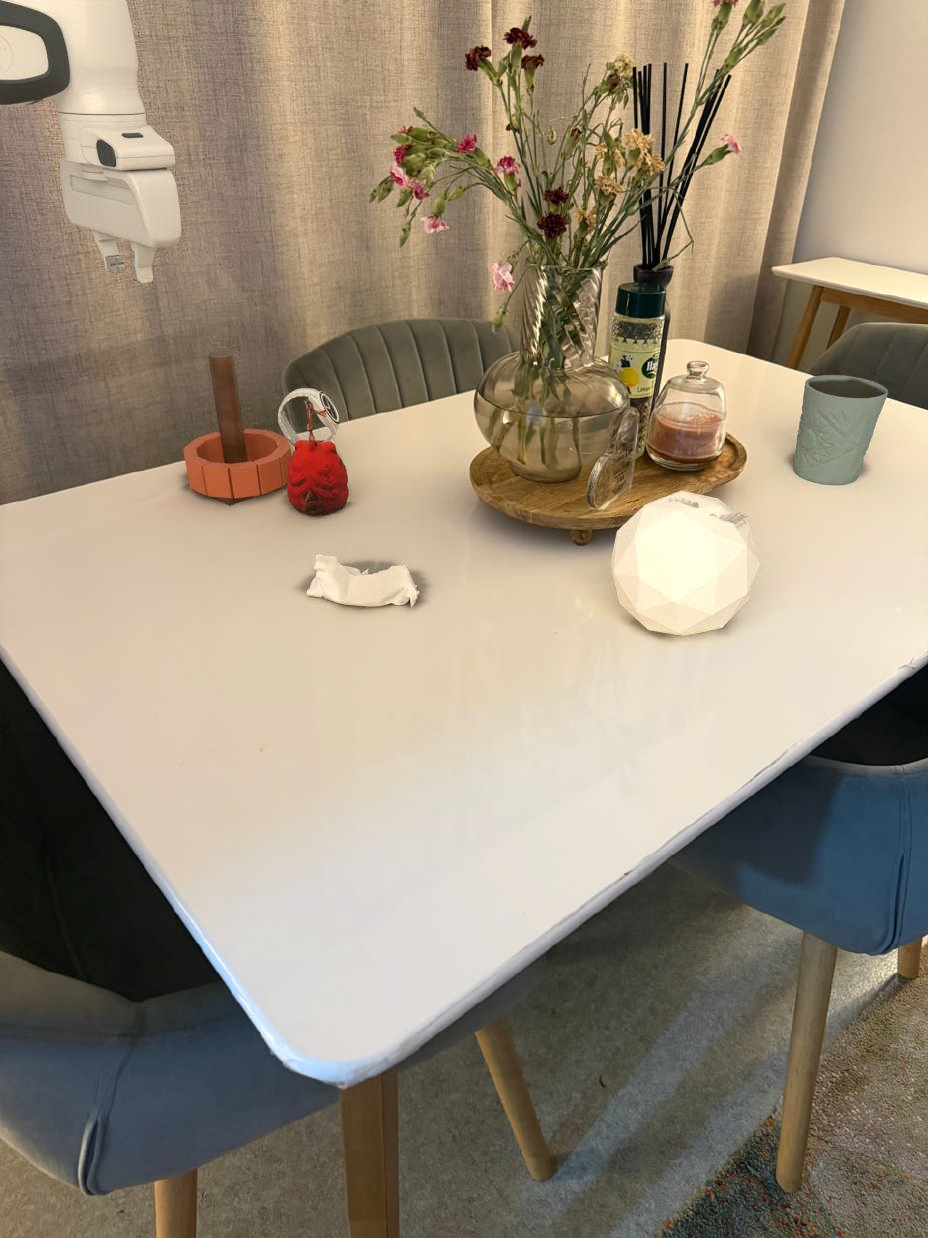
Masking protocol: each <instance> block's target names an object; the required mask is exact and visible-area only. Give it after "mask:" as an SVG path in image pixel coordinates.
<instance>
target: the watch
mask: <svg viewBox="0 0 928 1238" xmlns="http://www.w3.org/2000/svg"><path fill="white" fill-rule="evenodd" d="M297 397H306V398H307V399H309V403H310V404H311V405H312V408H313V409H314V410H318V411H321V410H326V415H327V417H323V416H321V415H319V414H316V415H317V417H318V419H319V420H320V422H321V423H322V425H324V426H326V427H327V428H328V429H329V430H330V433H331V435H330V436H329V437H328V438H327V439H326V440H319V439H318V440H316V439H315V440H316V441H319V442H327V441H331V442H332V443H333V442H334V440H335V438H336V435H337V433H338V429H339V426H340V425H341V417H340V414H339V412H338V409H337V407H336V405H335V404H334V402H333V400H332V399H331V397H330V396H329V395H328V394H327V393H325V392H324V391H323V390H317V389H315V388H311V387H301V388H297V389H294V390H293V391H290V392H289V393H288V394H287V395H286V396H285V397H284V398H283V400H282V402H281V404H280V406H279V408H278V412H277V423H278V426H279V428H280V430H281V432H282V434H283V436H285V437H286V438H287V440H288V442H289V444H290V445H291V446H292V447H294V445H295V443H296V442H297V441H299V440H301V439H300V438H299V434H298V433H296V431H295V430H294V428H293V427H292V426H291V424H290V422H289V419H288V417H287V416H286V412H285V411H284V407H285V405H286V404H287V403H288V402H289V401H290V400H292V399H295V398H297ZM303 440H304V441H309V439H308V440H307V439H303ZM294 451H295V449H294V450H293V453H294ZM293 453H292V454H293Z"/></svg>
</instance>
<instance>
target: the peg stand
mask: <svg viewBox="0 0 928 1238" xmlns="http://www.w3.org/2000/svg"><path fill="white" fill-rule="evenodd" d="M207 358H208V364H209V371H210V379H211V385H212V390H213V398H214V404H215V412H216V417H217V424H218V430H219V431H218V432H219V433H220V438H221V445H222V452H223V458H224V463H226V464H234V463H242V462H249V461H248V458H247V450H246V443H245V436H244V430H245V429H244V422H243V415H242V407H241V399H240V391H239V385H238V377H237V370H236V363H235V362H236V361H235V355H234V352H233V351H230V350H223V349H221V350H214V351H211V352H208V354H207ZM287 485H288V482H287V483H286V484H285V486H287ZM260 495H262V494H261V493H260ZM255 497H256V496H250V497H243V498H234V497H233V498H221V497H213V498H215V499H216V500H218V501H220V502H222V503H224V504H225V505H227V506H229V507H230V506H233V505H236V504H238V503H241V502H243V501H246V500H249V499H252V498H255Z"/></svg>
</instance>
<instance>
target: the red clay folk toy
mask: <svg viewBox="0 0 928 1238" xmlns="http://www.w3.org/2000/svg"><path fill="white" fill-rule="evenodd" d="M303 402H304V405H305V406H306V408H305V409H306V415H307V422H308V424H306V430H307V432H309V434H308V440H309V441H304V440H305V439H300V440H299V441H297V442H296V443H295V445H294V446H293V447H294V450H295V451H294V450H293V452H294V453H292V454H291V455H292V456H291V459H290V462H289V465H288V473H287V481H288V482H287V484H288V485H286V486H287V487H286V495H287V498H288V501H289V502H290V504H291V506H292V507H293V508H294V509H295V510H296V511H298V512H299V513H301V514H303V515H306V516H311V517H320V516H328V515H331V514H334V513H336V512H338V511H341V510H342V509H343V508H344V506H345V505H346V503H347V502H348V498H349V495H350V489H349V485H348V483H349V476H348V470H347V466H346V465H345V463H344V462H343V459H342V458H341V457H340V455H339V454H338V451H337V446H336V444H335V443H334V442H333V441H332V442H331V441H327V442H319V441H316V438H315V437H316V436H315V435H314V432H313V430H314V425H313V414H315V415H317V414H319V415H321V416H323V417H327V415H326V410H321V411H318V410H314V407H313V404H312V403H310V400H309V399H308V398H306V399H305V400H303Z"/></svg>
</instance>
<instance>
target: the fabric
mask: <svg viewBox="0 0 928 1238" xmlns="http://www.w3.org/2000/svg"><path fill="white" fill-rule="evenodd" d="M313 570H316V573H315V577H314V578H313V579H312V581H311V583H310V587H309V588H308V589H307V590H306V594H305V596H307V597H309V596H310V597H314V598H324V599H325V600H328V601H331V602H334V603H337V604H341V605H345V606H357V607H359V606H360V607H370V608H372V607H374V608H375V607H383V606H387V605H389V604H392V605H394V606H404V605H406V604H407V603H408V602H409V603H410V607H411V609H413V608H414V605H415V604H416V602H417V600H418V597H419V594H420V590H418V589H417V587H418V584H415V582H414V580H413V577H412V575H411V572H410V569H409V567H408V566H407V565H406V564H403V565H400V564H399V565H391V566H390V567H389V568H387V569H383V570H380V571H378V572H373V573H369V571H370V570H371V568H370V567H367V569H365V570H364V571H362V572H361V570H360V569H358V568H357V567H354V566H353V567H352V566H348V565H343V564H342V563H341V562H340V561H339V559H338V557H336V555H326V554H325V555H324V554H320V553H317V554H315V563H314V566H313Z"/></svg>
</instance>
